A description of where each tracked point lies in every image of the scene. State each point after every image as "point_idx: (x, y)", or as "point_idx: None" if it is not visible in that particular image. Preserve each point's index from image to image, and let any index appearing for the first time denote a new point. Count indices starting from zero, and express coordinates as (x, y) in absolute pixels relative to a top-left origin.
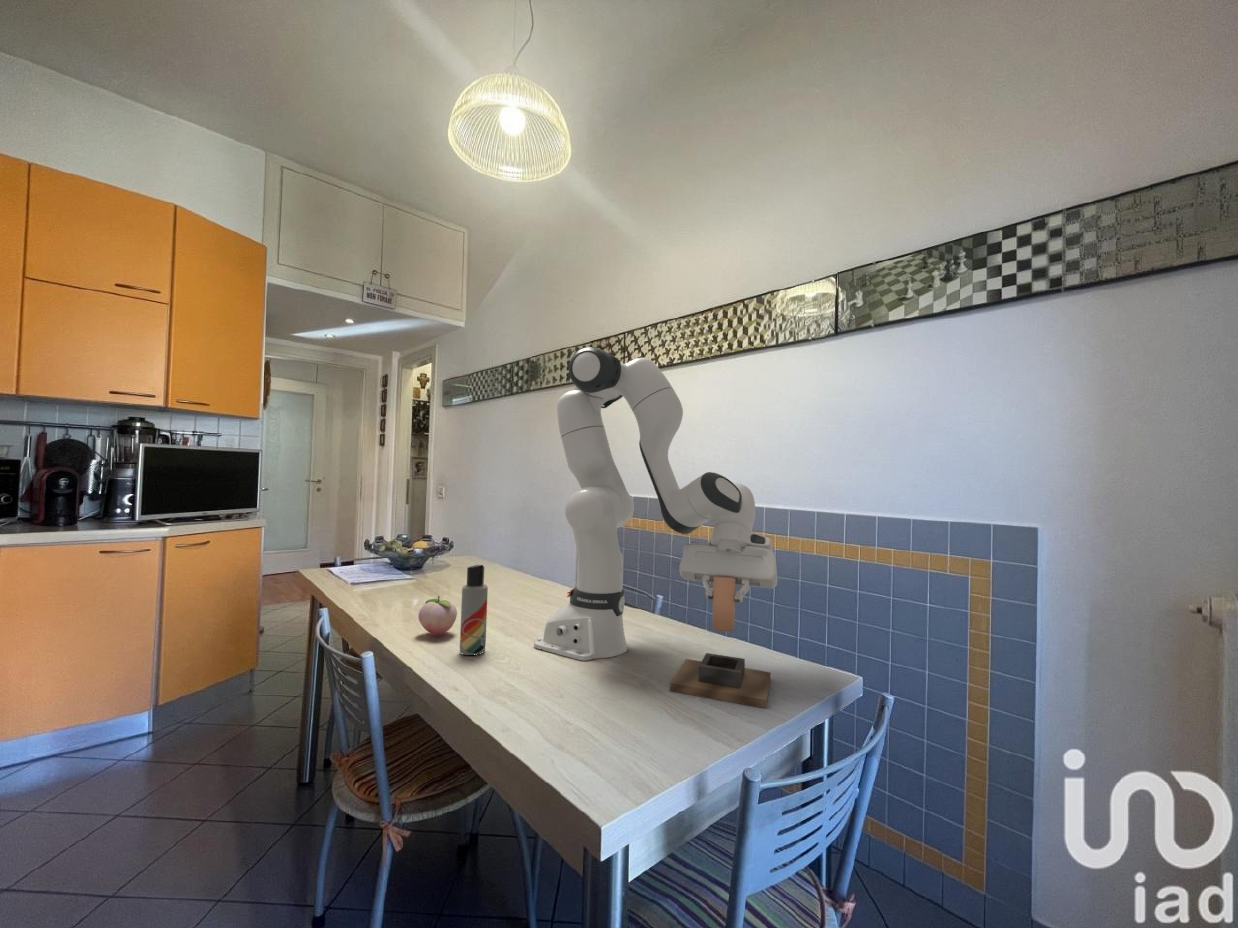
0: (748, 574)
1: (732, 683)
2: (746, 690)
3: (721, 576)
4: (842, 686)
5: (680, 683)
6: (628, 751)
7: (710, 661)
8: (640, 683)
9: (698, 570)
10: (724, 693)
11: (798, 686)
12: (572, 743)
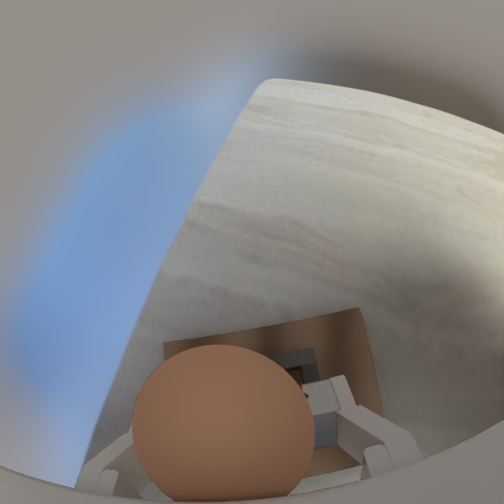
0: (54, 495)
1: None
2: None
3: (263, 492)
4: None
5: (340, 318)
6: (303, 135)
7: None
8: (416, 304)
9: (475, 447)
10: (243, 331)
11: None
12: (360, 121)
